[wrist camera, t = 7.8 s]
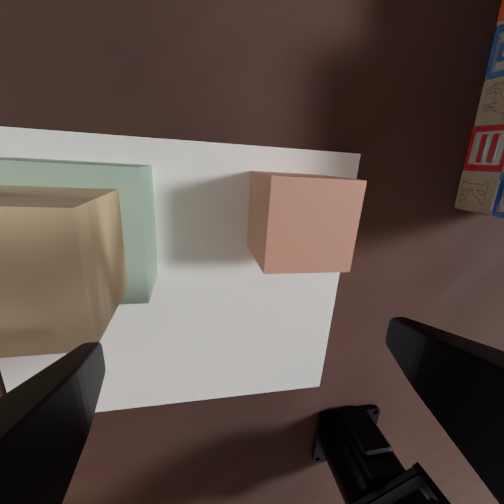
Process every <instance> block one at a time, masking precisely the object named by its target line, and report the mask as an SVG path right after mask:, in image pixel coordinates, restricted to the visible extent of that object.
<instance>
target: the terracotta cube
mask: <svg viewBox="0 0 504 504" xmlns="http://www.w3.org/2000/svg"><path fill="white" fill-rule="evenodd" d="M366 184H367V181H365V180H358V179H351V178H343V177H336V176H329V175H318V174H301V173H283V172H265V171H251V182H250V199H249V217H248V234H247V246H248V248H249V250H250V252H251V253H252V255H253V257H254V258H255V260H256V262H257V263H258V265H259V267H260V269H261V270H262V272H263V274H286V273H329V272H350V268H351V263H352V257H353V252H354V247H355V242H356V236H357V231H358V226H359V220H360V215H361V210H362V205H363V199H364V194H365V189H366Z"/></svg>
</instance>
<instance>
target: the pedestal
mask: <svg viewBox="0 0 504 504" xmlns="http://www.w3.org/2000/svg"><path fill="white" fill-rule="evenodd" d="M0 185H16V186H43V187H71V188H99V189H118V192H119V202H120V212H121V223H122V233H123V243H124V253H125V264H126V274H127V284H128V288H127V290H126V292H125V294H124V296H123V298H122V299H121V301H120V303H119V304H143V303H149V300H150V297H151V294H152V291H153V288H154V284H155V281H156V278H157V275H158V266H157V248H156V230H155V211H154V193H153V174H152V165H141V164H124V163H106V162H88V161H70V160H53V159H35V158H17V157H0Z"/></svg>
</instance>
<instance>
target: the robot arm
mask: <svg viewBox="0 0 504 504" xmlns="http://www.w3.org/2000/svg"><path fill="white" fill-rule="evenodd" d="M386 345H387V347H388V348H389V350H390V352H391V353H392V355H393V356H394V358H395V360H396V361H397V363H398V364H399V366H400V368H401V369H402V371H403V373H404V374H405V376H406V377H407V379H408V381H409V382H410V384H411V385H412V387H413V388H414V390H415V391H416V392H417V394H418V395H419V396H420V398H421V399H422V400H423V402H424V403H425V404H426V406H427V407H428V408H429V410H430V411H431V412H432V414H433V415H434V416H435V418H436V419H437V421H438V422H439V423H440V425H441V426H442V427H443V429H444V430H445V431H446V433H447V434H448V435H449V437H450V438H451V439H452V441H453V442H454V443H455V445H456V446H457V447H458V449H459V450H460V451H461V453H462V454H463V455H464V457H465V458H466V459H467V461H468V462H469V463H470V465H471V466H472V467H473V469H474V470H475V471H476V473H477V474H478V475H479V477H480V478H481V479H482V481H483V482H484V483H485V485H486V486H487V487H488V489H489V490H490V491H491V493H492V494H493V496H494V497H495V498H496V500H497V501H498V502H499V504H504V351H501V350H498V349H495V348H493V347H490V346H487V345H484V344H481V343H478V342H475V341H472V340H469V339H466V338H463V337H461V336H458V335H455V334H452V333H449V332H446V331H443V330H440V329H437V328H434V327H432V326H429V325H426V324H423V323H420V322H417V321H414V320H411V319H408V318H405V317H394V318H391V319H390V321H389V324H388V329H387V334H386ZM104 376H105V361H104V355H103V349H102V345H101V343H100V342H88V343H83V344H81V345H80V346H78V347H77V348H75V349H73V350H72V351H70V352H69V353H67V354H66V355H64V356H63V357H61V358H60V359H58V360H57V361H55V362H54V363H52V364H51V365H49V366H47V367H46V368H44V369H43V370H41V371H40V372H38V373H37V374H35V375H34V376H32V377H31V378H29V379H28V380H26V381H24V382H23V383H21V384H20V385H18V386H17V387H15V388H14V389H12V390H11V391H9V392H8V393H6V394H5V395H3V396H1V397H0V504H62V502H63V500H64V497H65V494H66V492H67V489H68V487H69V484H70V481H71V479H72V476H73V474H74V471H75V468H76V466H77V463H78V461H79V458H80V455H81V453H82V450H83V448H84V445H85V442H86V440H87V437H88V434H89V431H90V428H91V424H92V421H93V417H94V413H95V410H96V406H97V402H98V398H99V395H100V391H101V387H102V383H103V380H104ZM379 413H380V410H379V408H378V407H377V406H376V405H372V406H364V407H357V408H350V409H342V410H335V411H328V412H322V413H321V414H320V415H319V418H318V424H317V429H316V435H315V440H314V445H313V451H312V459H313V462H315V463H317V462H323V461H327V463H328V465H329V467H330V470H331V472H332V474H333V476H334V479H335V481H336V483H337V486H338V488H339V490H340V493H341V495H342V497H343V500H344V502H345V504H451V503H450V502H449V501H448V500H447V498H446V497H445V496H444V495H443V493H442V492H441V491H440V489H439V488H438V487H437V486H436V484H435V483H434V482H433V481H432V479H431V478H430V477H429V476H428V474H427V473H426V472H425V470H424V469H423V468H422V467H421V465H420V464H419V463H418V462H417V463H415V464H414V465H412V466H413V467H412V468H410V469H408V470H405V469H404V467H403V466H402V464H401V463H400V461H399V460H398V458H397V457H396V455H395V454H394V452H393V451H392V447H391V446H390V444H389V443H388V441H387V440H386V438H385V437H384V435H383V434H382V432H381V431H380V429H379V428H378V426H377V425H376V424H377V420H378V416H379Z"/></svg>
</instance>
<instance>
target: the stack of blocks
mask: <svg viewBox="0 0 504 504" xmlns="http://www.w3.org/2000/svg"><path fill="white" fill-rule="evenodd" d="M496 25H497V30H496V32H495V36H494V40H493V45H492V49H491V54H490V58H489V62H488V67H487V71H486V75H485V82H484V85H483V89H482V94H481V98H480V103H479V107H478V111H477V116H476V120H475V125H474V127H473V130H472V134H471V138H470V142H469V147H468V151H467V155H466V160H465V164H464V168H463V172H462V176H461V180H460V184H459V189H458V193H457V197H456V202H455V208H456V209H461V210H466V211H471V212H475V213H481V214H485V215H493V216H497V217H501V218H504V0H502V3H501V7H500V11H499V16H498V20H497V24H496Z"/></svg>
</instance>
